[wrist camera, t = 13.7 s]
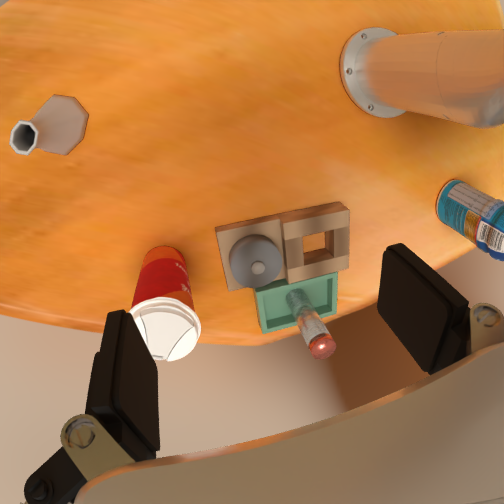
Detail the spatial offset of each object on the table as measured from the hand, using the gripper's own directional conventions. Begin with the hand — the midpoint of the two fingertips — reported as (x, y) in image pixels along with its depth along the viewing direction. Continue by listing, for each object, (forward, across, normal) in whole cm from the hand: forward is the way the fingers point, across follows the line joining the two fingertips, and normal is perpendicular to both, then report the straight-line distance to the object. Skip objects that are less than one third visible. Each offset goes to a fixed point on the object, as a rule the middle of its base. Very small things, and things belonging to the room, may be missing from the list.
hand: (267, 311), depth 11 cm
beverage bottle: (+28, -39, +13) cm, 50 cm away
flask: (+29, +16, -8) cm, 34 cm away
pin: (+28, -9, +23) cm, 37 cm away
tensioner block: (+28, -8, +14) cm, 33 cm away
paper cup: (+28, +8, +13) cm, 32 cm away
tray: (+28, -9, +23) cm, 38 cm away
